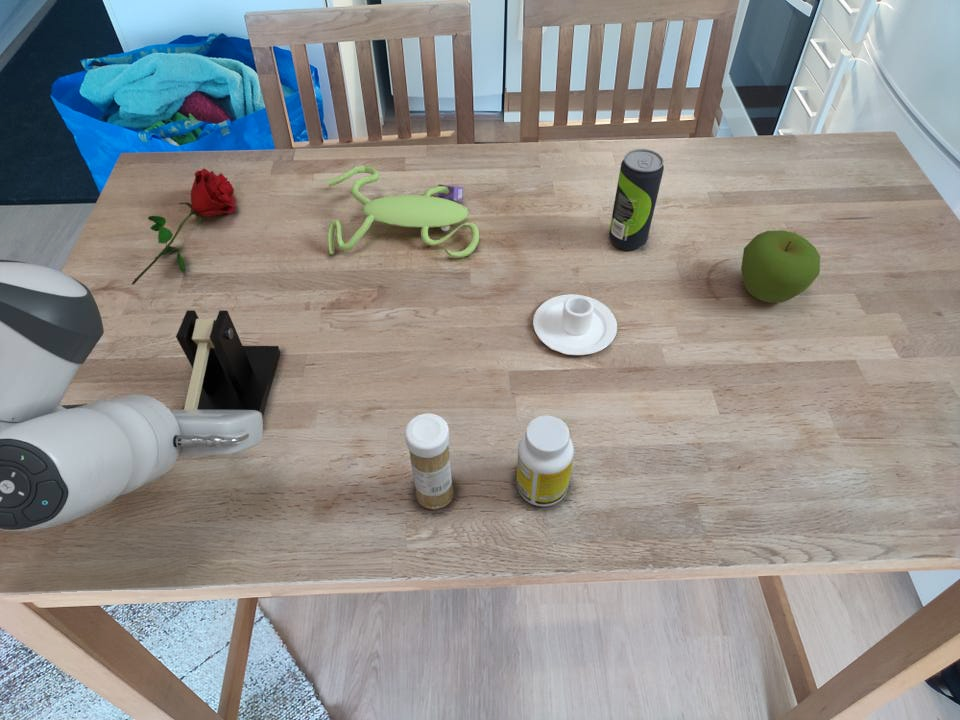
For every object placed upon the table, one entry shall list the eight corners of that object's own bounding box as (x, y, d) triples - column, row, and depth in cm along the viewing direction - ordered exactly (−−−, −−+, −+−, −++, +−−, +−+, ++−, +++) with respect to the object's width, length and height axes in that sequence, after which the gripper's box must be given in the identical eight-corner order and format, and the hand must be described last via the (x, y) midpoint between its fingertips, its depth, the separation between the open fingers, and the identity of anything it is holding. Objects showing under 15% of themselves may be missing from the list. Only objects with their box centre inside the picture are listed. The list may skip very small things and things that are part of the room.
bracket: (259, 429, 84) (229, 365, 74) (181, 428, 84) (141, 364, 75) (280, 352, 93) (256, 286, 83) (210, 352, 93) (177, 285, 83)
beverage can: (648, 252, 106) (668, 171, 94) (610, 252, 106) (624, 171, 94) (644, 228, 110) (662, 147, 98) (606, 227, 110) (620, 147, 98)
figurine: (338, 187, 118) (332, 160, 114) (486, 193, 116) (486, 166, 112) (312, 255, 106) (304, 227, 102) (476, 263, 104) (476, 235, 100)
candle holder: (555, 368, 90) (557, 347, 87) (519, 310, 97) (520, 289, 94) (631, 343, 93) (637, 322, 90) (591, 289, 100) (595, 268, 97)
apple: (735, 262, 104) (754, 210, 96) (805, 278, 101) (830, 226, 94) (726, 308, 97) (746, 256, 90) (801, 326, 95) (828, 274, 87)
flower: (134, 247, 90) (224, 145, 111) (91, 268, 94) (185, 165, 115) (182, 296, 95) (259, 189, 116) (139, 314, 99) (221, 207, 120)
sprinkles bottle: (450, 474, 80) (444, 408, 69) (457, 507, 77) (452, 443, 66) (412, 481, 79) (401, 415, 69) (418, 515, 76) (407, 452, 66)
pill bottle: (575, 473, 79) (585, 420, 71) (557, 516, 76) (566, 465, 67) (527, 455, 81) (531, 402, 73) (507, 496, 78) (510, 445, 69)
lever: (213, 428, 76) (204, 421, 74) (170, 427, 76) (160, 420, 74) (232, 328, 82) (225, 318, 80) (192, 328, 82) (184, 318, 80)
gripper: (235, 410, 62) (281, 391, 76) (22, 408, 63) (107, 390, 77) (236, 475, 63) (282, 445, 77) (26, 473, 63) (109, 443, 77)
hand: (193, 417), depth 77 cm, fingers closed on lever, 5 cm apart
